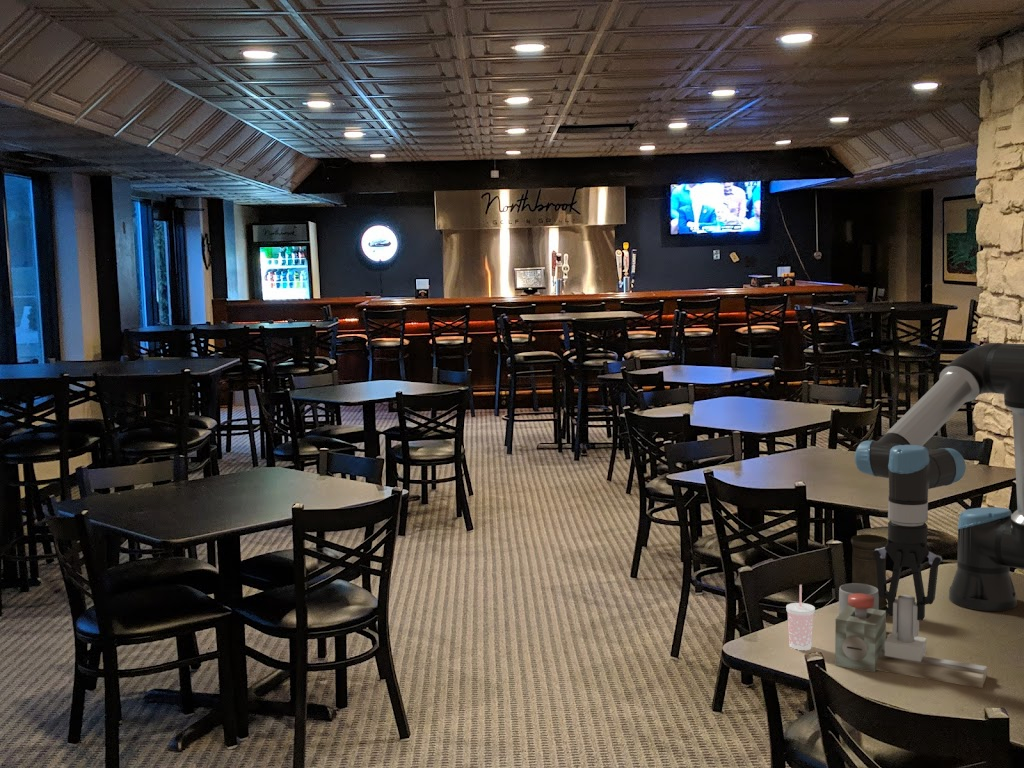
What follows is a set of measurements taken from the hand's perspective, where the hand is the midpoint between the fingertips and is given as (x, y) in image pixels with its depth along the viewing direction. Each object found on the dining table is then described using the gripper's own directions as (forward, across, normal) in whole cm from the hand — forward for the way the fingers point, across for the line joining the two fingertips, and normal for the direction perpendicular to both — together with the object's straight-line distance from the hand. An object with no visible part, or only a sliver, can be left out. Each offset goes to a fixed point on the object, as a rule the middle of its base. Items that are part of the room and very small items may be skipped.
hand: (905, 632), depth 212 cm
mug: (+8, +12, -16) cm, 22 cm away
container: (+8, +14, -33) cm, 36 cm away
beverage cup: (+8, +22, -2) cm, 24 cm away
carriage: (+4, 0, 0) cm, 4 cm away
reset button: (-1, +9, 0) cm, 9 cm away
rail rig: (+8, -1, 0) cm, 8 cm away
